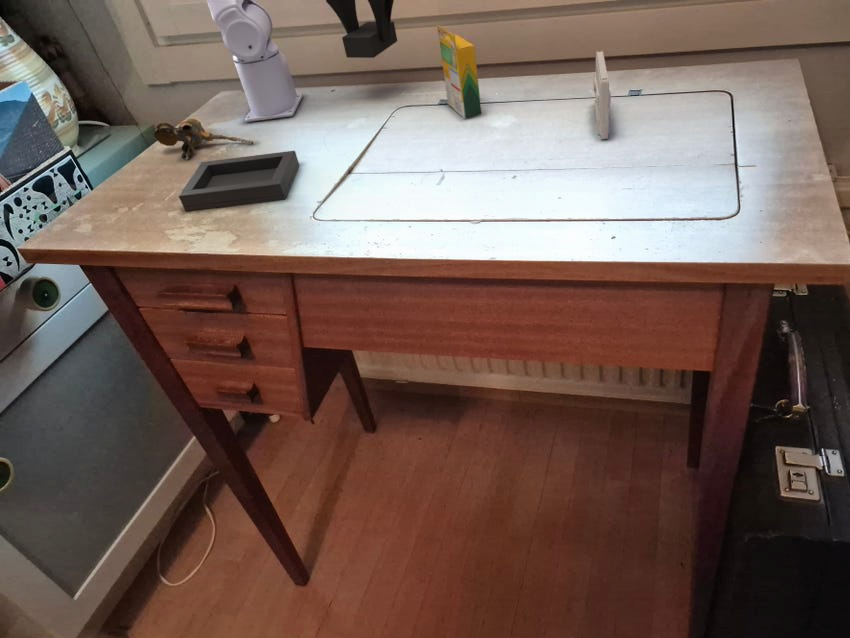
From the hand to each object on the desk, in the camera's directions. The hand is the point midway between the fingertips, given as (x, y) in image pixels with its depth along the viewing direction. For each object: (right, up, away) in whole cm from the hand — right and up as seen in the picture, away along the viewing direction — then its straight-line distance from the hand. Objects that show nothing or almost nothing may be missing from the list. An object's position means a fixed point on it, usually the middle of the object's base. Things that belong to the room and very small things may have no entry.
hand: (370, 39), depth 105 cm
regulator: (-24, -18, -3) cm, 31 cm away
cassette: (+34, -18, -14) cm, 41 cm away
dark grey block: (0, -1, +1) cm, 1 cm away
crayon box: (+15, -13, -4) cm, 20 cm away
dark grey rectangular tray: (-14, -28, -16) cm, 35 cm away
